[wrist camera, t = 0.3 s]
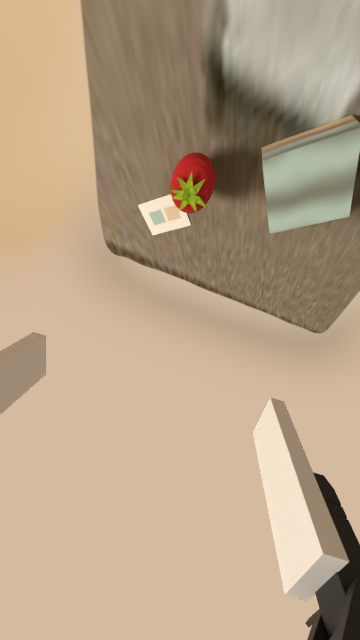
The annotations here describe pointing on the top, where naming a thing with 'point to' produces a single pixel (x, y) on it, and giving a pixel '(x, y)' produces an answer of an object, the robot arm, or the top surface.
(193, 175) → the strawberry
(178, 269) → the top surface
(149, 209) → the page
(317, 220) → the base brick
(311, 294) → the top surface
